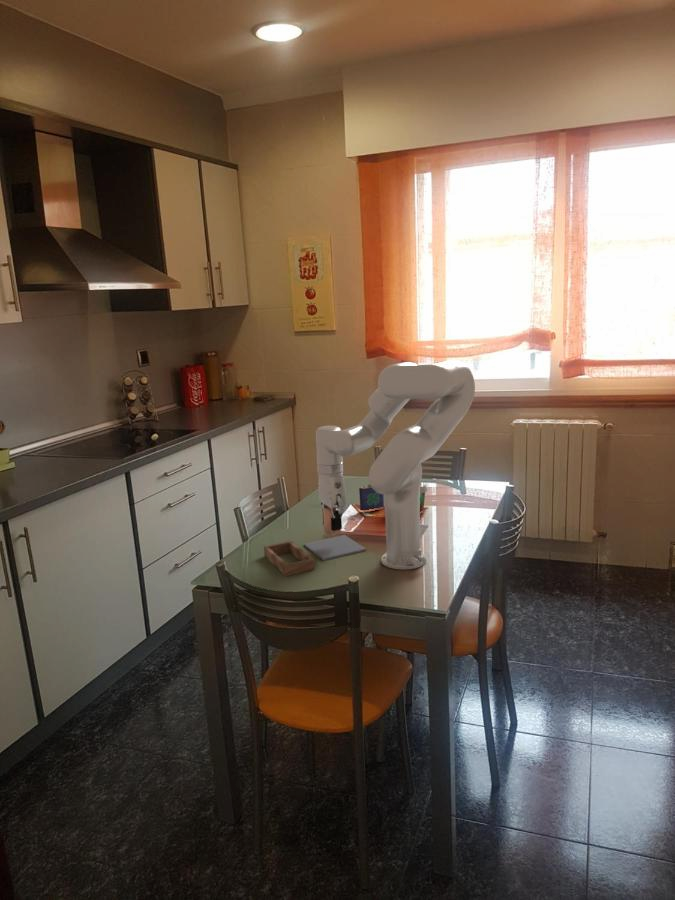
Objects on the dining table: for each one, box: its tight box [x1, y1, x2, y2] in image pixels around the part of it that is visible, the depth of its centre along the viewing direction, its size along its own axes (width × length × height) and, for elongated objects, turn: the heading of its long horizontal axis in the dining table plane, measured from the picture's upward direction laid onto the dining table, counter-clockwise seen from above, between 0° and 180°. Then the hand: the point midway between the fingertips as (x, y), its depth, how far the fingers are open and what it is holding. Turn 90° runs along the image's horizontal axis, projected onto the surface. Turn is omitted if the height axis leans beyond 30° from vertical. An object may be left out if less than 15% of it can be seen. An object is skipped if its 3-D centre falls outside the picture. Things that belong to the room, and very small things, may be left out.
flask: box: [358, 483, 385, 510], centre depth 230 cm, size 9×3×11 cm, turn 114°
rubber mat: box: [303, 534, 367, 561], centre depth 198 cm, size 14×14×1 cm
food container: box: [420, 484, 428, 512], centre depth 224 cm, size 12×6×10 cm, turn 76°
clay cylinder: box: [322, 505, 342, 535], centre depth 196 cm, size 5×5×7 cm
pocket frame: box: [263, 540, 315, 577], centre depth 188 cm, size 17×9×3 cm, turn 26°
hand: (332, 526), depth 196 cm, fingers closed on clay cylinder, 5 cm apart
